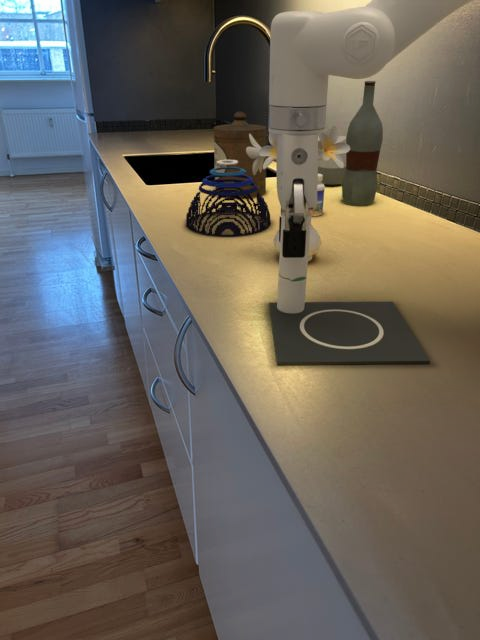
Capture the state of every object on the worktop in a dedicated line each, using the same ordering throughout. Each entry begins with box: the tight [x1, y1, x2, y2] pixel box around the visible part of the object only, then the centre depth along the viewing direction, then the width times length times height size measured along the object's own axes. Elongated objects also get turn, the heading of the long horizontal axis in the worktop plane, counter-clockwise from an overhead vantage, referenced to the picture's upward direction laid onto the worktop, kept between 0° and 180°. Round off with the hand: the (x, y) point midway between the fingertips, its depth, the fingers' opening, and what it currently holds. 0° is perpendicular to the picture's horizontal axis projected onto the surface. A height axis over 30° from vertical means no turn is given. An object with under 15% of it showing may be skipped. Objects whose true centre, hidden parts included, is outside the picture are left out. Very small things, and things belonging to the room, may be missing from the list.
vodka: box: [341, 80, 384, 207], centre depth 133 cm, size 9×9×30 cm
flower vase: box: [246, 124, 350, 262], centre depth 95 cm, size 13×18×25 cm
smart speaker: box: [318, 135, 347, 187], centre depth 156 cm, size 10×9×14 cm
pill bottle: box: [308, 174, 326, 217], centre depth 127 cm, size 5×5×10 cm
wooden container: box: [213, 111, 267, 199], centre depth 145 cm, size 15×15×22 cm
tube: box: [276, 211, 312, 314], centre depth 77 cm, size 4×4×15 cm
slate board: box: [268, 301, 431, 366], centre depth 75 cm, size 20×18×1 cm
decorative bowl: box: [185, 160, 272, 238], centre depth 119 cm, size 20×20×14 cm
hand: (291, 248), depth 76 cm, fingers open, 5 cm apart
